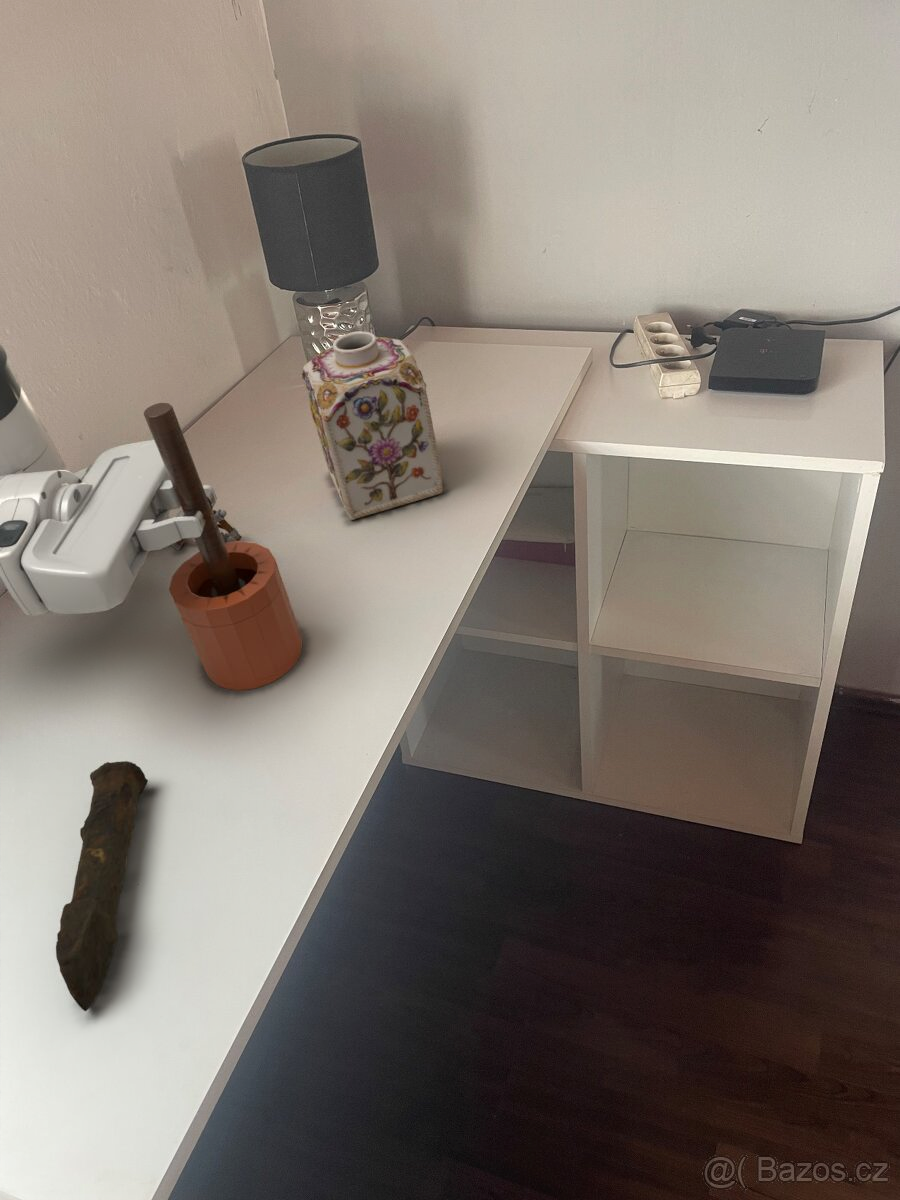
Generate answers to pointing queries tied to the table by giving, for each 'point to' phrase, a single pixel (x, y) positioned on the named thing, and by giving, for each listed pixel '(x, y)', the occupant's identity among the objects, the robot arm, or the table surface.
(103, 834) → the hand tool
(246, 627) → the terracotta plant pot
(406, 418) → the decorative jar
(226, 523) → the wooden post with brackets
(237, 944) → the table surface
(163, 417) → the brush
